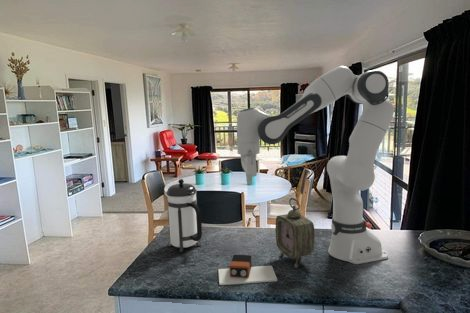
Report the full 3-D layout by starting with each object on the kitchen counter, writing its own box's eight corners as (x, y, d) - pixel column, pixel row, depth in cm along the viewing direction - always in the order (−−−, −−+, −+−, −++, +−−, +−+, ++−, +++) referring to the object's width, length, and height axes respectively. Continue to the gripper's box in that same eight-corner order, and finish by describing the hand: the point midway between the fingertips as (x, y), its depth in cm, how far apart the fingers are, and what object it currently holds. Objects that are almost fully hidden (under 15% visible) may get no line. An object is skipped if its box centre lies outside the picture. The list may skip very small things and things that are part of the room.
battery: (251, 265, 122) (248, 279, 112) (233, 264, 123) (229, 278, 114) (251, 254, 122) (248, 268, 112) (233, 254, 123) (228, 267, 113)
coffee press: (161, 254, 135) (156, 183, 131) (173, 238, 151) (169, 175, 146) (202, 255, 133) (199, 184, 129) (209, 239, 149) (207, 175, 144)
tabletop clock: (275, 255, 132) (275, 195, 128) (294, 250, 135) (295, 192, 131) (295, 271, 118) (295, 205, 115) (315, 266, 122) (316, 201, 118)
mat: (271, 267, 122) (271, 265, 122) (277, 281, 112) (277, 279, 112) (218, 270, 121) (218, 269, 120) (219, 285, 111) (219, 283, 111)
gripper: (260, 152, 120) (260, 189, 122) (252, 145, 140) (253, 177, 142) (243, 153, 119) (244, 189, 121) (238, 146, 139) (239, 177, 141)
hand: (249, 182), depth 132 cm, fingers closed
